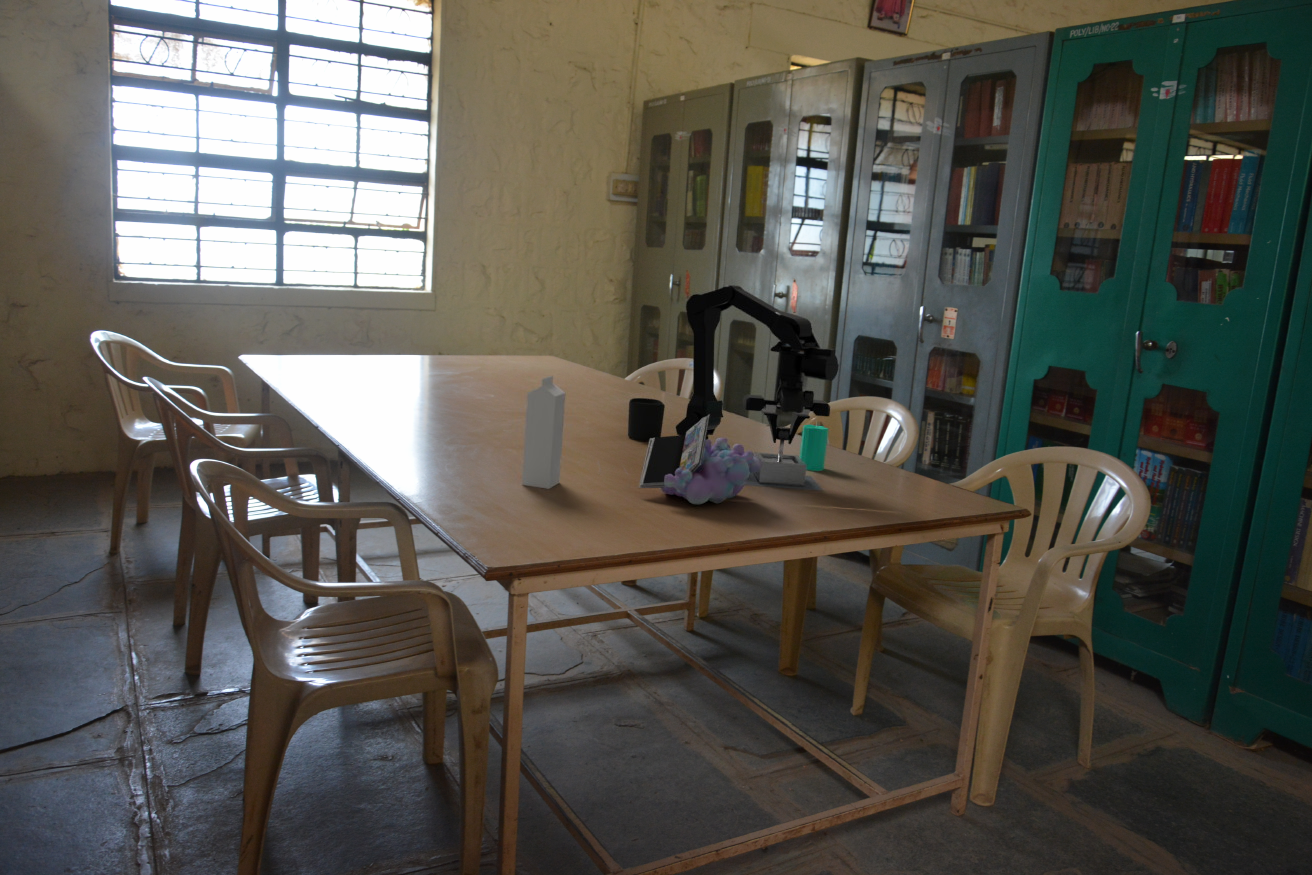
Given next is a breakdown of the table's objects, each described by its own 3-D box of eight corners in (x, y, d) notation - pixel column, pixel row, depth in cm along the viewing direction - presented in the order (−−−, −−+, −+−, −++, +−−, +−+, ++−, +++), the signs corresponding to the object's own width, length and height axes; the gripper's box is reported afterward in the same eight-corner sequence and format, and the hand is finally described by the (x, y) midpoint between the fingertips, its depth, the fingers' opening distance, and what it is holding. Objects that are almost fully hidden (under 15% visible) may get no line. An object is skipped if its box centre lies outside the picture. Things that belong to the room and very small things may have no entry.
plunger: (767, 466, 209) (771, 429, 207) (762, 459, 216) (766, 424, 214) (797, 468, 209) (801, 432, 208) (791, 462, 216) (795, 426, 215)
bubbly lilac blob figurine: (783, 487, 187) (761, 404, 192) (702, 492, 174) (680, 402, 178) (718, 516, 202) (699, 438, 207) (638, 522, 189) (620, 438, 193)
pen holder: (668, 439, 251) (671, 402, 249) (649, 443, 243) (652, 405, 242) (639, 433, 256) (642, 397, 254) (619, 437, 248) (622, 399, 246)
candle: (823, 473, 226) (829, 424, 224) (797, 470, 227) (803, 421, 225) (823, 468, 232) (829, 420, 230) (799, 465, 233) (804, 417, 231)
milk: (521, 485, 190) (527, 377, 186) (532, 478, 196) (538, 373, 192) (549, 489, 189) (556, 380, 185) (560, 482, 195) (566, 377, 191)
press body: (746, 482, 208) (748, 460, 207) (740, 472, 218) (742, 451, 217) (803, 487, 209) (806, 465, 208) (795, 476, 218) (797, 455, 218)
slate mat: (742, 486, 206) (742, 484, 206) (734, 471, 220) (734, 470, 220) (823, 492, 207) (823, 490, 207) (810, 477, 221) (810, 475, 221)
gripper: (753, 375, 200) (745, 447, 203) (839, 382, 201) (831, 454, 204) (746, 369, 211) (738, 437, 214) (828, 376, 212) (819, 443, 215)
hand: (781, 443), depth 212 cm, fingers closed on plunger, 3 cm apart
